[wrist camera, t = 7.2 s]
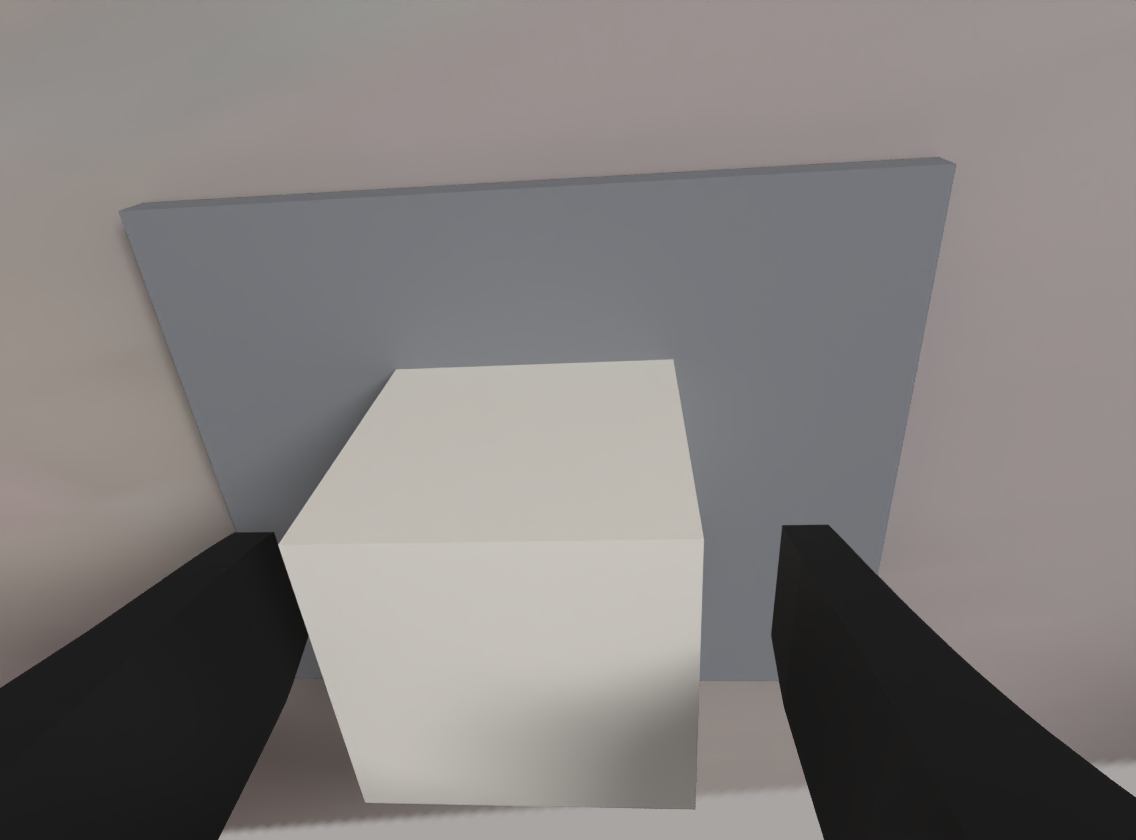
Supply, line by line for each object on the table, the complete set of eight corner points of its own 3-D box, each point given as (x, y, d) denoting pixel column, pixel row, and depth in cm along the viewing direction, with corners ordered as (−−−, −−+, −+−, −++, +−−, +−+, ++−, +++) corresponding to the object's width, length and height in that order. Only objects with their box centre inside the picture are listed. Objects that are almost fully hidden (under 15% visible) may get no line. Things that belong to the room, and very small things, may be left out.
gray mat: (937, 157, 10) (955, 163, 9) (848, 658, 15) (857, 681, 14) (143, 203, 11) (118, 211, 10) (301, 656, 16) (290, 678, 15)
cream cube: (673, 359, 11) (704, 539, 7) (672, 578, 13) (695, 809, 9) (396, 369, 11) (278, 544, 7) (439, 580, 14) (365, 802, 10)
